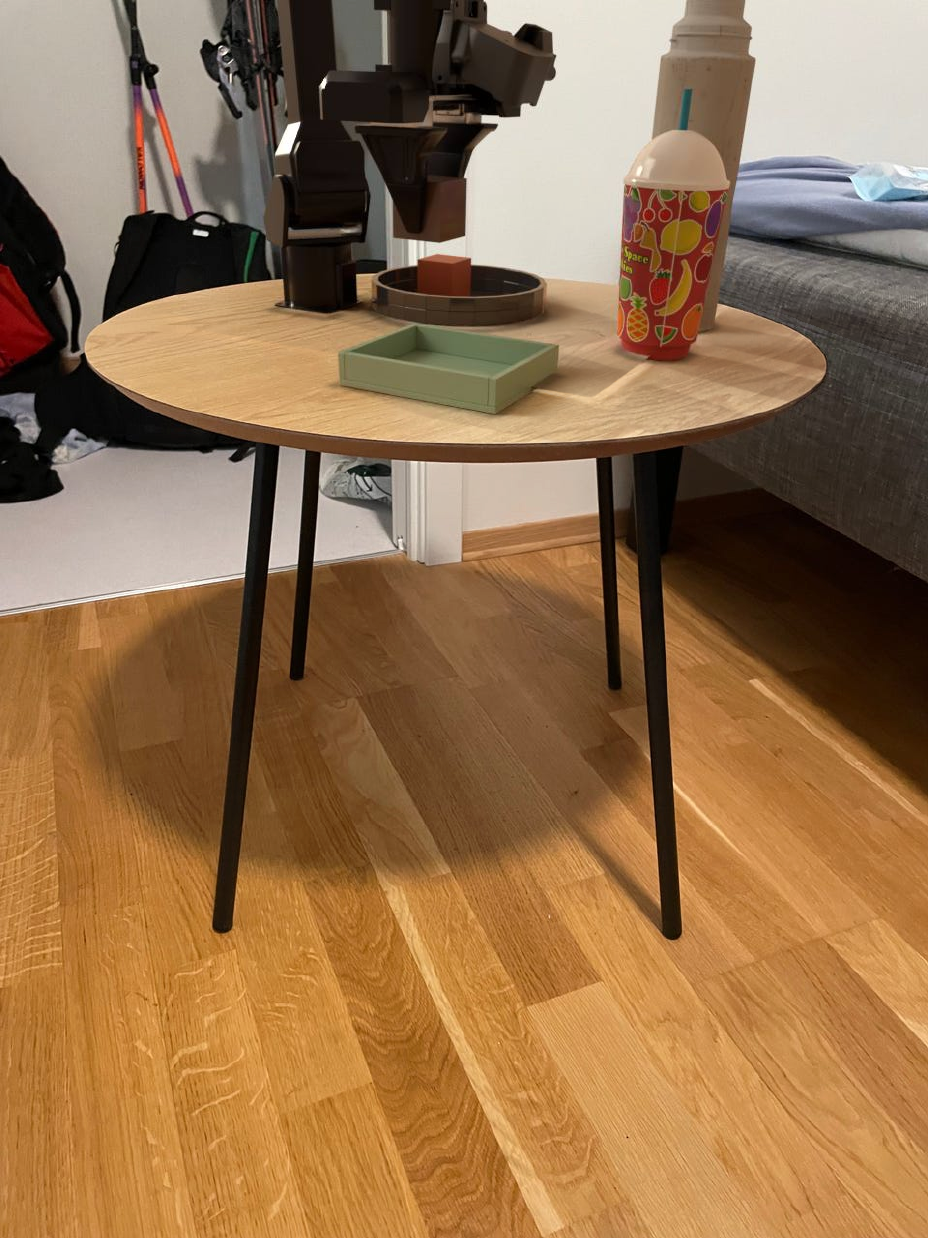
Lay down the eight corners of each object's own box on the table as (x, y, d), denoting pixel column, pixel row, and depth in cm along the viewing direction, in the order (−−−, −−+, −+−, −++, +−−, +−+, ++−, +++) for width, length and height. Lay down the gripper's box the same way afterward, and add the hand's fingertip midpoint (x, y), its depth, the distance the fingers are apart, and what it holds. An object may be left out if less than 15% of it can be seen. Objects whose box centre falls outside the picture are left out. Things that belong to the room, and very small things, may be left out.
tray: (339, 385, 71) (337, 351, 69) (413, 352, 79) (413, 322, 78) (495, 414, 66) (496, 379, 64) (557, 376, 74) (559, 344, 73)
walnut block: (392, 237, 69) (391, 178, 67) (419, 231, 72) (419, 174, 70) (440, 242, 67) (440, 181, 65) (465, 236, 70) (467, 177, 68)
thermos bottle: (704, 314, 95) (754, -19, 80) (722, 333, 88) (780, -27, 74) (626, 312, 95) (662, -21, 80) (637, 331, 88) (679, -30, 74)
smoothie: (597, 340, 84) (622, 86, 74) (687, 340, 85) (723, 89, 75) (618, 365, 77) (648, 88, 67) (716, 365, 78) (760, 91, 68)
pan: (338, 315, 90) (337, 283, 89) (426, 286, 104) (426, 258, 102) (498, 340, 84) (499, 305, 82) (570, 305, 97) (572, 275, 95)
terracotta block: (417, 300, 95) (417, 259, 93) (436, 294, 98) (436, 253, 96) (452, 305, 93) (452, 263, 91) (470, 298, 96) (471, 257, 94)
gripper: (474, -43, 51) (467, 258, 59) (594, -14, 66) (575, 225, 73) (307, -39, 55) (321, 241, 63) (454, -13, 70) (451, 213, 78)
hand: (428, 229), depth 69 cm, fingers closed on walnut block, 4 cm apart
